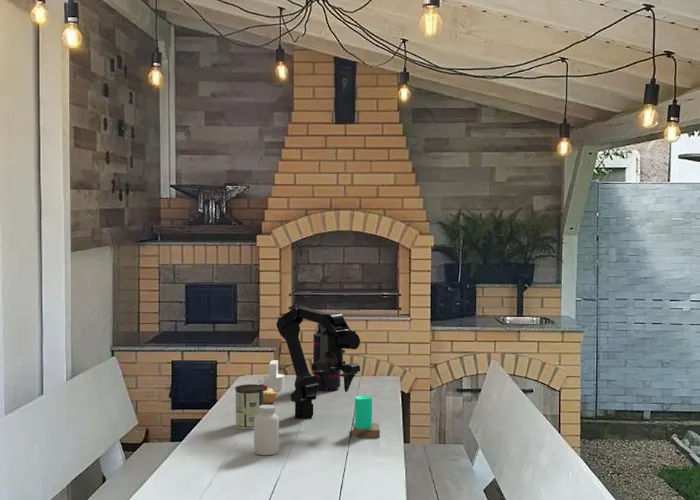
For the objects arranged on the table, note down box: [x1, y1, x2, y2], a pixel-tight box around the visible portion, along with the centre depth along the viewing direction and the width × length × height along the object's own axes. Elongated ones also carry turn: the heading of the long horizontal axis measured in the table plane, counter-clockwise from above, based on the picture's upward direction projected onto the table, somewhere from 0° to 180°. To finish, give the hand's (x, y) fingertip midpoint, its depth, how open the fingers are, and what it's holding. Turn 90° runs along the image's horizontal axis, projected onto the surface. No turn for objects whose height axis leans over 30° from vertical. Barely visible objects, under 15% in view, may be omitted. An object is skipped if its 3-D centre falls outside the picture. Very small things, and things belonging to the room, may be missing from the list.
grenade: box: [312, 323, 341, 392], centre depth 350 cm, size 14×12×30 cm
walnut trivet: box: [352, 422, 381, 438], centre depth 281 cm, size 9×9×2 cm
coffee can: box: [234, 383, 264, 430], centre depth 290 cm, size 10×10×14 cm
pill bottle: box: [253, 404, 280, 456], centre depth 258 cm, size 8×8×15 cm
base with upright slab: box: [262, 359, 285, 392], centre depth 349 cm, size 9×9×12 cm
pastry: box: [258, 379, 278, 405], centre depth 325 cm, size 12×12×9 cm
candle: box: [354, 395, 373, 429], centre depth 280 cm, size 6×6×12 cm
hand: (336, 390), depth 291 cm, fingers open, 9 cm apart
